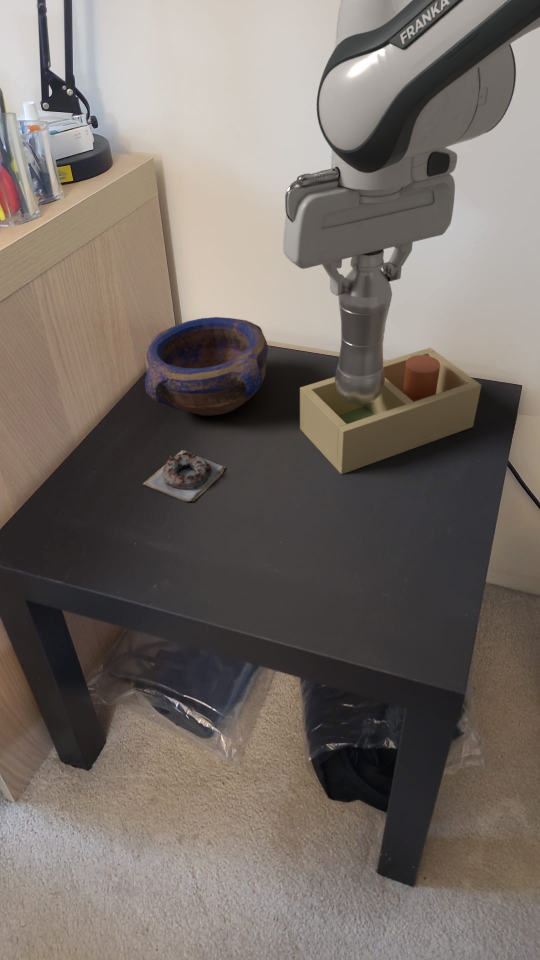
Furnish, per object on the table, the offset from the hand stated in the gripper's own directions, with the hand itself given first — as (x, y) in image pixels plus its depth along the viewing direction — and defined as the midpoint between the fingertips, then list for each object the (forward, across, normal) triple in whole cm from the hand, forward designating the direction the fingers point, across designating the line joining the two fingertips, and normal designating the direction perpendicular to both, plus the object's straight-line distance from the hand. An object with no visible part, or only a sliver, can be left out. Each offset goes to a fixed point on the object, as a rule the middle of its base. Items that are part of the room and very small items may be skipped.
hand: (365, 285), depth 80 cm
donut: (+23, -24, +4) cm, 33 cm away
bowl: (+23, -14, +19) cm, 33 cm away
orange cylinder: (+22, +10, 0) cm, 24 cm away
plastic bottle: (+16, 0, 0) cm, 16 cm away
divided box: (+23, +5, 0) cm, 23 cm away
